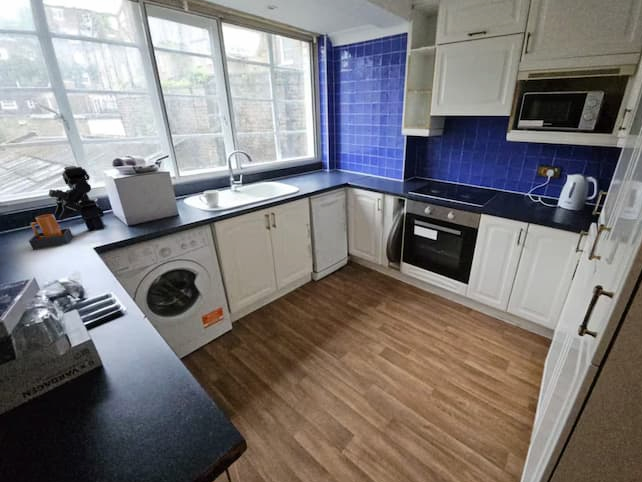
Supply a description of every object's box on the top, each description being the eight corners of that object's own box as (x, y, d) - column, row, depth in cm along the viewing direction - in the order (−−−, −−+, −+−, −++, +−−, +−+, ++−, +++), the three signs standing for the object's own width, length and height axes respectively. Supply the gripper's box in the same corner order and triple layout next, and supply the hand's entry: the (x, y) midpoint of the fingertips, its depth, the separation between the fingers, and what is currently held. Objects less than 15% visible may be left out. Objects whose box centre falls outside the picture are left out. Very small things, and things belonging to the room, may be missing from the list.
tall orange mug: (66, 237, 149) (55, 213, 143) (63, 241, 144) (51, 216, 139) (42, 241, 144) (30, 217, 139) (38, 246, 140) (25, 220, 134)
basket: (73, 236, 152) (69, 228, 150) (67, 243, 143) (63, 235, 141) (40, 241, 146) (36, 233, 144) (33, 250, 137) (28, 241, 135)
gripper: (53, 180, 147) (32, 207, 144) (62, 185, 137) (40, 213, 134) (79, 192, 156) (60, 217, 153) (90, 197, 146) (70, 224, 142)
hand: (57, 218), depth 145 cm, fingers open, 9 cm apart
